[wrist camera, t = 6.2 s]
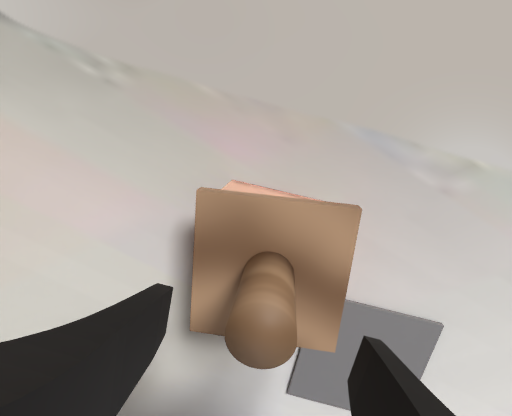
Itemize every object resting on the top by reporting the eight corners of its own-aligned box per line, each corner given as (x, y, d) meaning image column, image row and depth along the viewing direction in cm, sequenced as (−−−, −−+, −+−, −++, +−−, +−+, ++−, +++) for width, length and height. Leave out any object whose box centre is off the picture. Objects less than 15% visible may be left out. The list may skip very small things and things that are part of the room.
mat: (399, 420, 23) (400, 423, 23) (287, 390, 23) (287, 393, 23) (441, 323, 21) (443, 326, 20) (317, 292, 21) (317, 294, 21)
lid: (332, 342, 17) (354, 444, 12) (194, 322, 18) (151, 409, 12) (358, 205, 15) (398, 248, 10) (200, 187, 16) (153, 217, 10)
